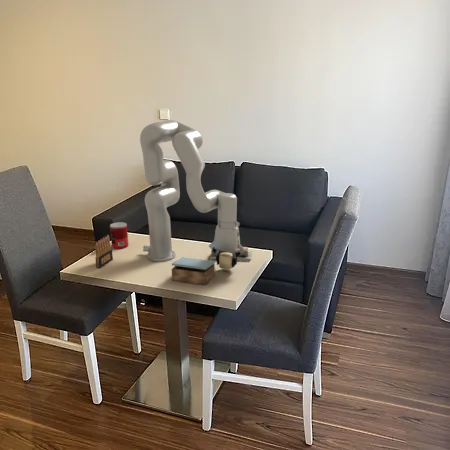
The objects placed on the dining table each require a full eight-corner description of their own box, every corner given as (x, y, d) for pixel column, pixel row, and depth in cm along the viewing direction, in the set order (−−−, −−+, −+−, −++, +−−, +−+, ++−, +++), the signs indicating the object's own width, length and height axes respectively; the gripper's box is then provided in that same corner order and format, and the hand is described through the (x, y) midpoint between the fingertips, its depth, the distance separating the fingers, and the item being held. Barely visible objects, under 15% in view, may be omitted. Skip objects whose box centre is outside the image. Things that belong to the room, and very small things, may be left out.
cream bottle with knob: (217, 267, 197) (217, 256, 195) (221, 262, 202) (222, 251, 201) (230, 270, 195) (231, 258, 193) (235, 264, 200) (235, 253, 199)
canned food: (131, 244, 230) (129, 223, 227) (121, 250, 223) (119, 228, 220) (118, 242, 233) (116, 221, 230) (108, 248, 226) (106, 226, 223)
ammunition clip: (109, 259, 213) (107, 233, 209) (113, 259, 213) (110, 234, 209) (96, 268, 203) (93, 241, 200) (99, 268, 203) (97, 242, 199)
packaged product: (209, 251, 209) (212, 243, 218) (210, 261, 210) (212, 253, 220) (250, 251, 207) (251, 244, 216) (250, 262, 209) (251, 253, 218)
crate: (172, 280, 190) (171, 269, 189) (182, 271, 199) (182, 259, 198) (205, 285, 186) (205, 273, 184) (214, 275, 195) (214, 264, 193)
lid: (171, 265, 189) (171, 263, 188) (182, 259, 198) (182, 257, 198) (205, 269, 184) (205, 267, 184) (214, 263, 193) (214, 261, 193)
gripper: (250, 223, 193) (248, 264, 199) (210, 218, 199) (210, 258, 204) (244, 229, 187) (243, 271, 192) (203, 224, 192) (203, 265, 198)
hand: (226, 264), depth 198 cm, fingers closed on cream bottle with knob, 6 cm apart
